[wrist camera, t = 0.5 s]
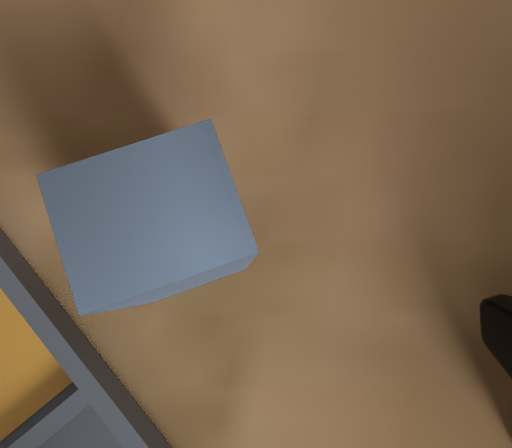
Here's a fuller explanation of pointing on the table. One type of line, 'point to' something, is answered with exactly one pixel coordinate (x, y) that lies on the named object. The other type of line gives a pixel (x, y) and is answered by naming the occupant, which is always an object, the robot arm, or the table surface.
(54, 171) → the panel block
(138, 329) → the table surface
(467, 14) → the table surface
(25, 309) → the rack
